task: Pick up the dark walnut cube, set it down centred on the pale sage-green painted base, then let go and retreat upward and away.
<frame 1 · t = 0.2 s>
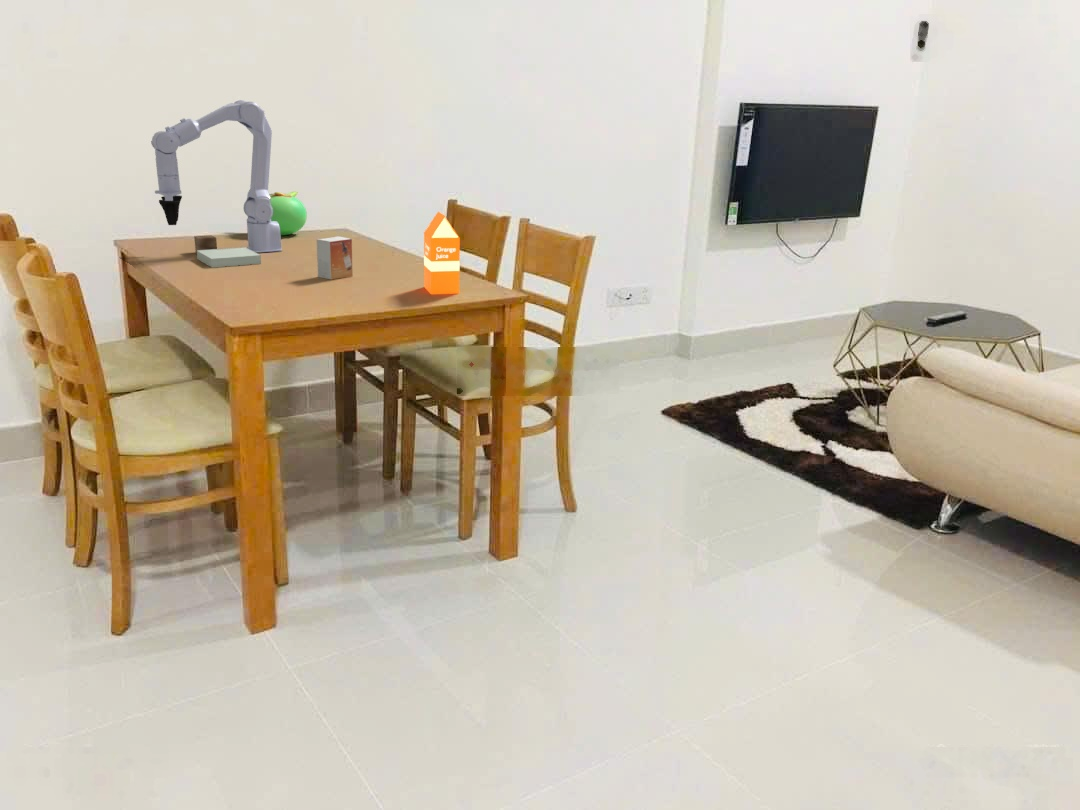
hand: (173, 222, 257), 10 cm above the table, fingers open, 7 cm apart
orange juice: (441, 290, 234), on the table
base: (229, 261, 257), on the table
small box: (335, 277, 244), on the table
walnut cube: (206, 253, 267), on the table
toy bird: (280, 235, 303), on the table
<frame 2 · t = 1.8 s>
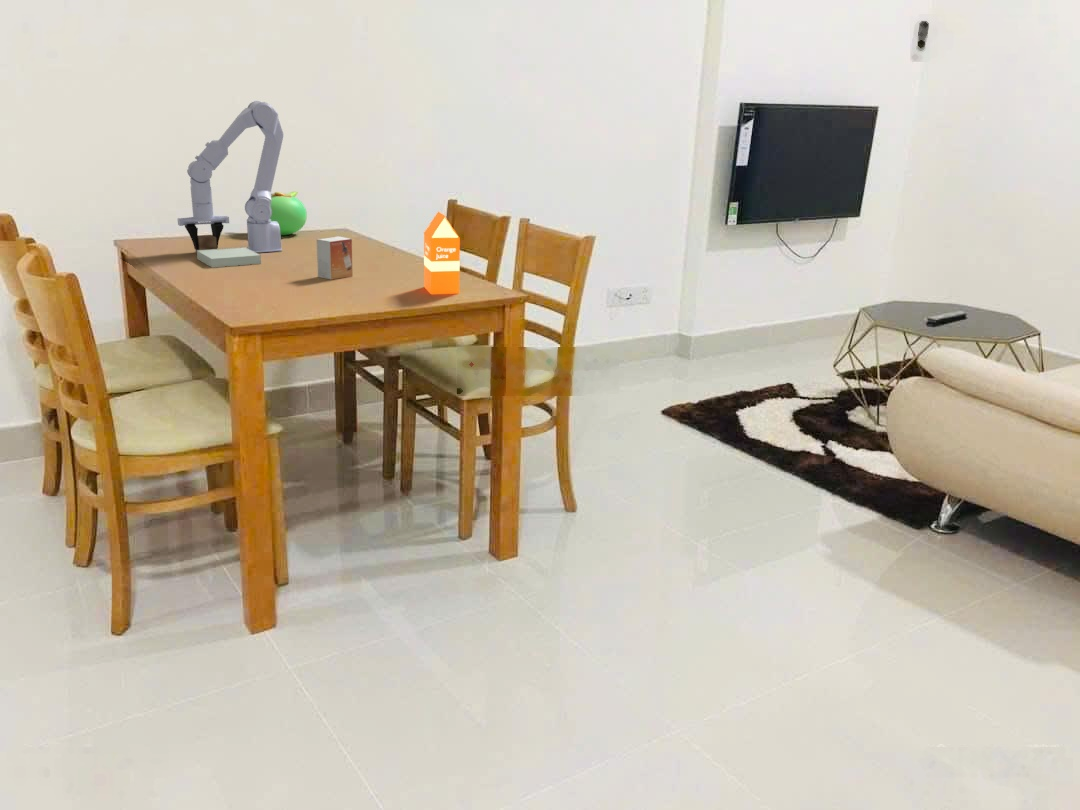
hand: (206, 248, 267), 1 cm above the table, fingers closed on walnut cube, 5 cm apart
walnut cube: (206, 253, 267), on the table, touching gripper
everything else where it was.
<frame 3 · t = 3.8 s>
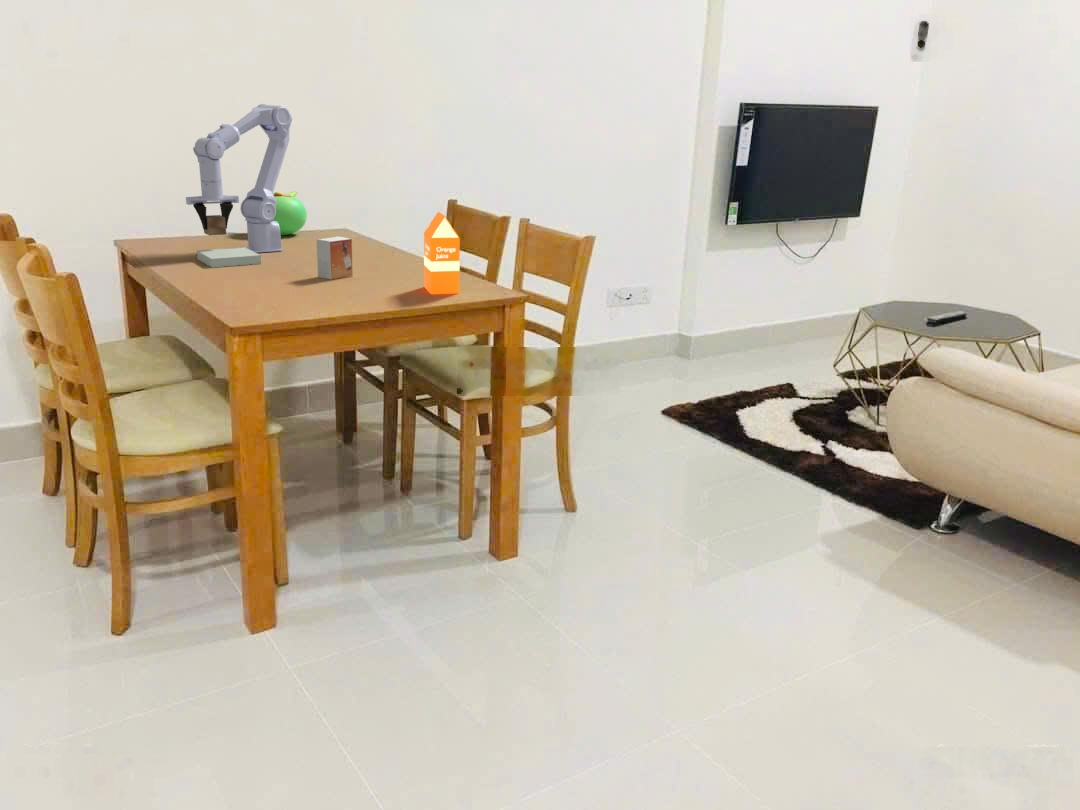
hand: (215, 228, 259), 8 cm above the table, fingers closed on walnut cube, 5 cm apart
walnut cube: (215, 233, 260), point 7 cm above the table, touching gripper
everything else where it was.
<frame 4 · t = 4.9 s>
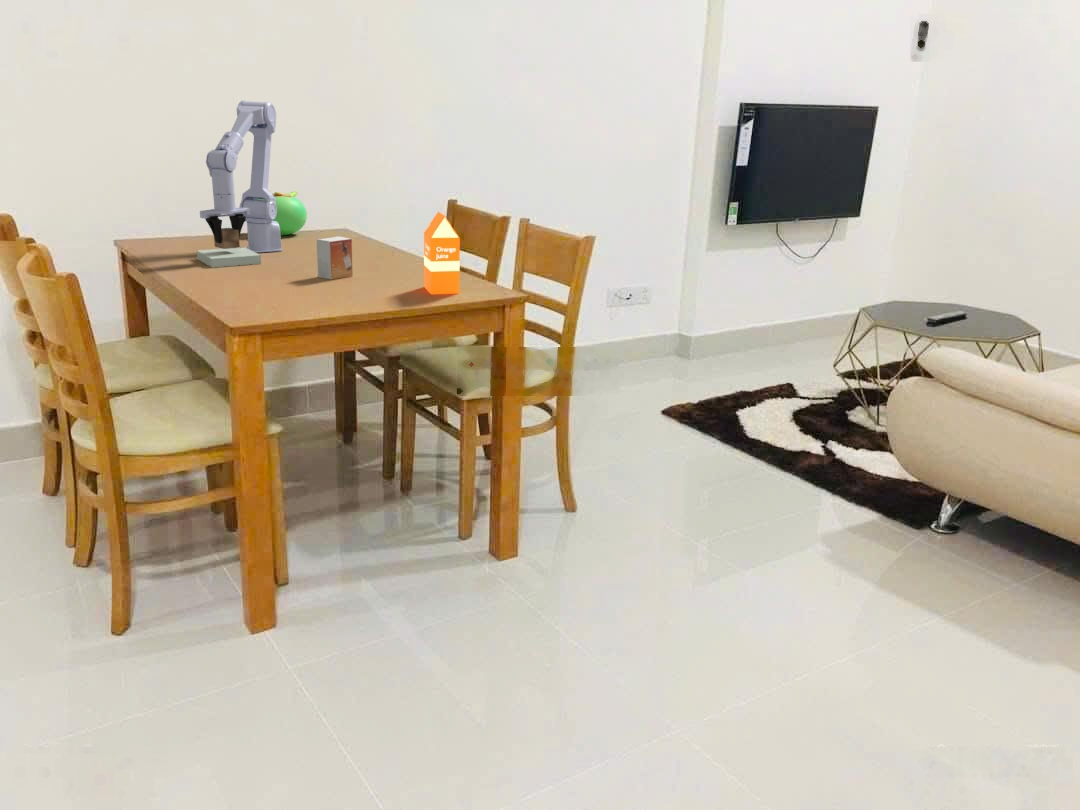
hand: (227, 241, 255), 6 cm above the table, fingers closed on walnut cube, 5 cm apart
walnut cube: (227, 246, 256), point 4 cm above the table, touching gripper
everything else where it was.
when the fingers open (5 cm above the table, at t = 5.6 s): walnut cube stays where it is, resting on base.
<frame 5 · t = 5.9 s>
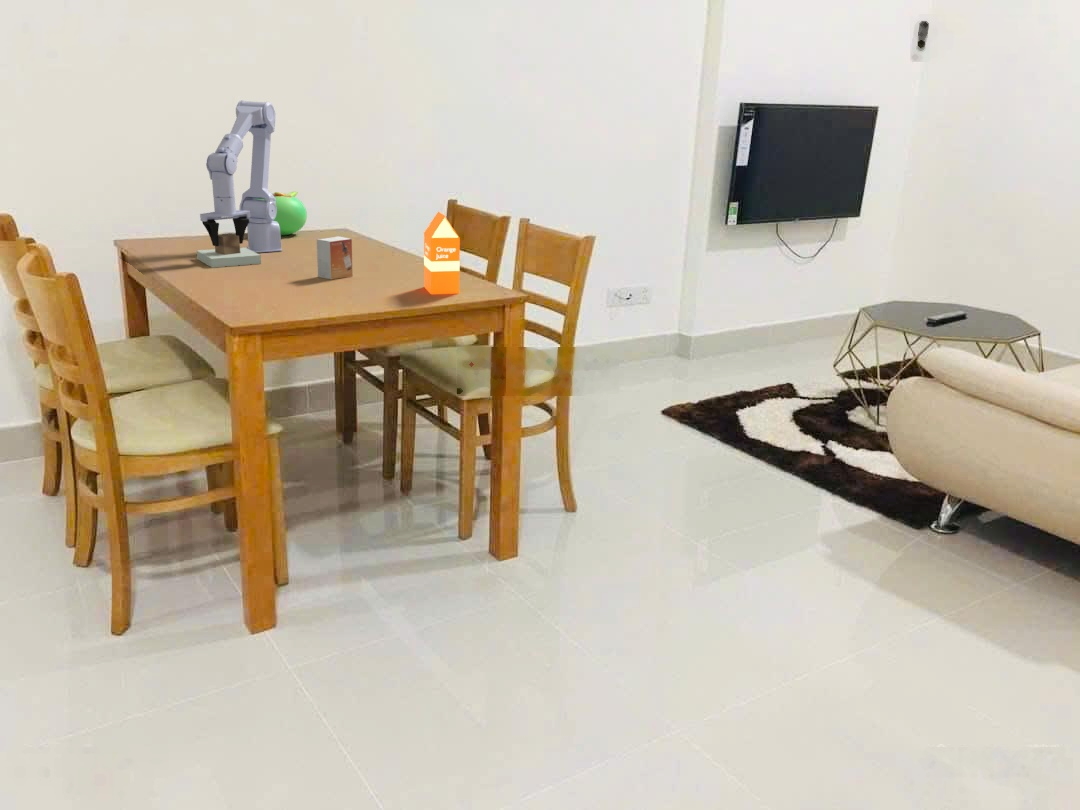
hand: (227, 244, 255), 5 cm above the table, fingers open, 7 cm apart
walnut cube: (227, 252, 256), point 2 cm above the table, touching base
everything else where it was.
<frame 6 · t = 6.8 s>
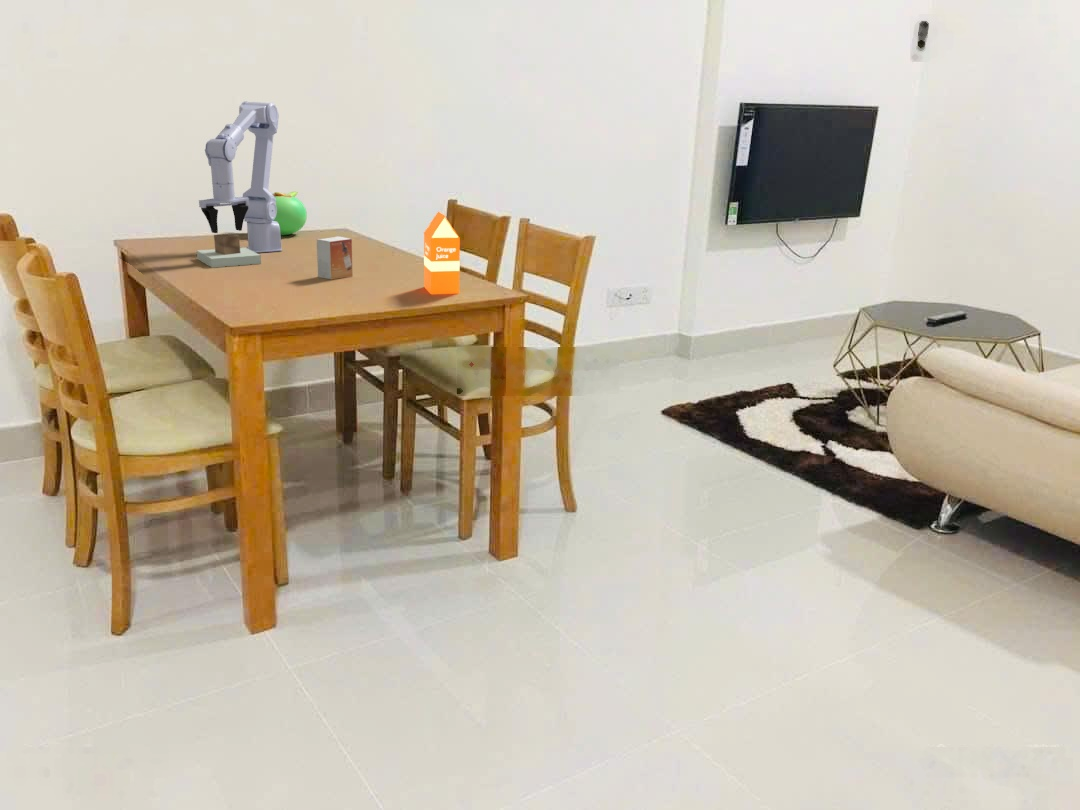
hand: (226, 231, 254), 9 cm above the table, fingers open, 7 cm apart
nothing on the table moved.
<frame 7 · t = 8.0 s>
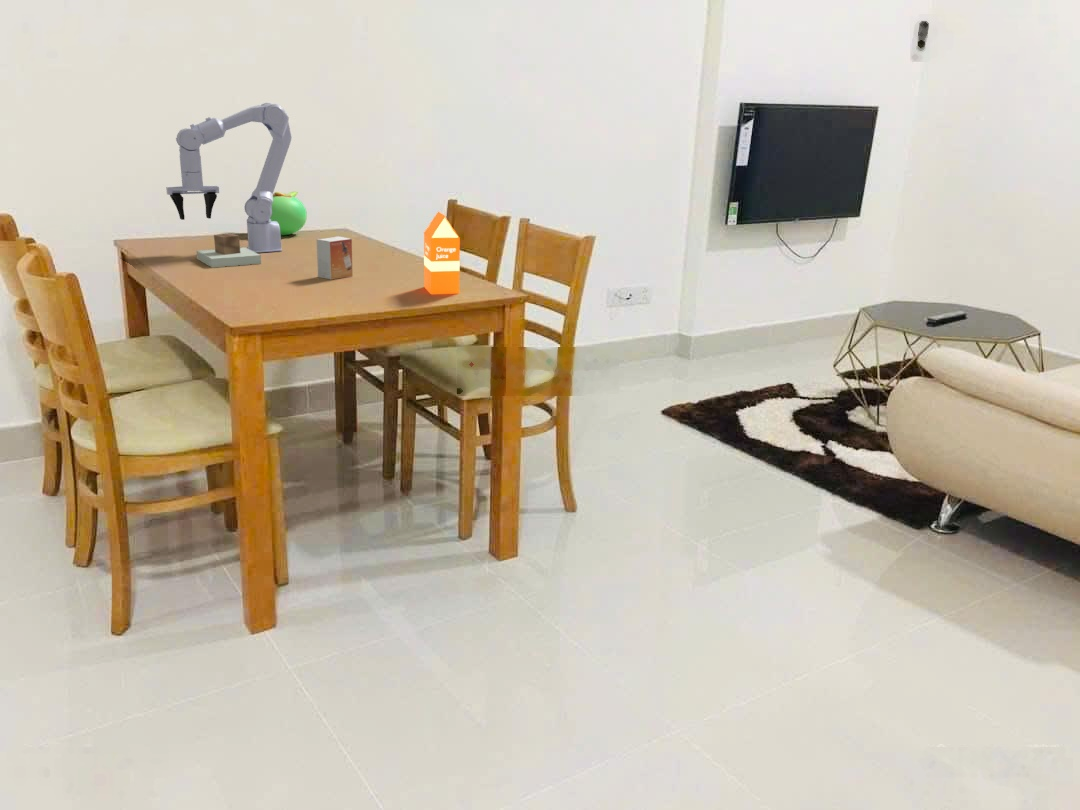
hand: (195, 218, 262), 10 cm above the table, fingers open, 7 cm apart
nothing on the table moved.
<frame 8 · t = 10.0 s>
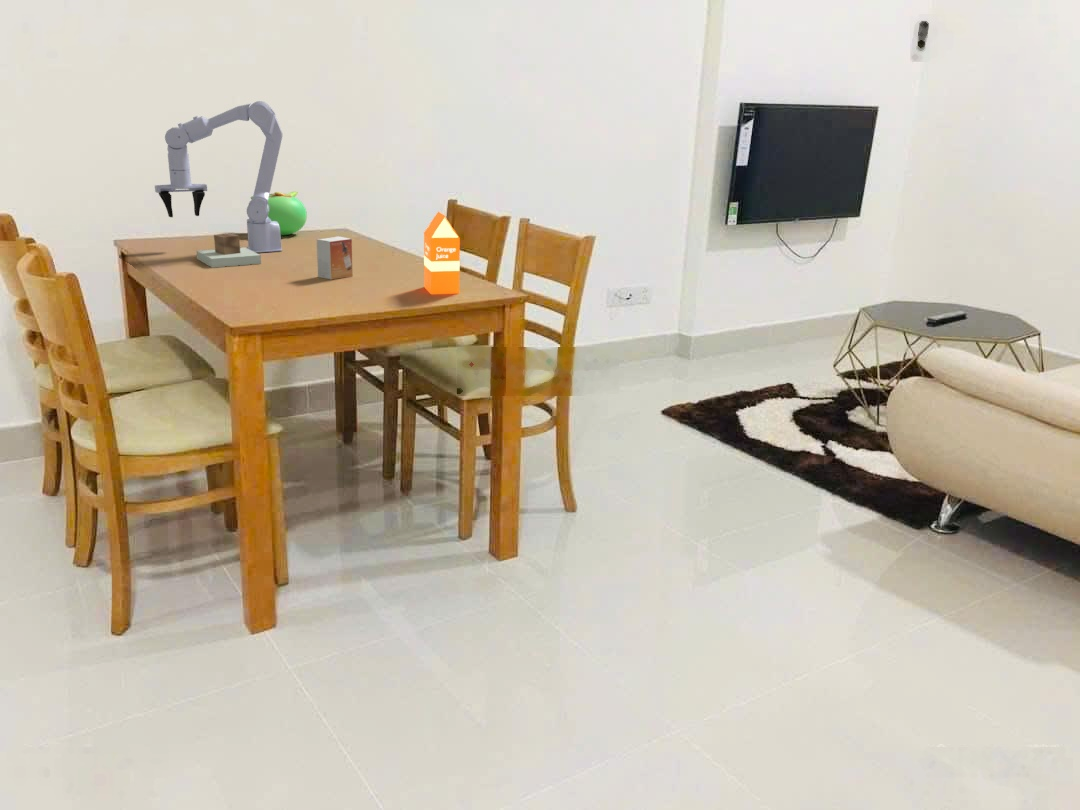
hand: (184, 216, 266), 10 cm above the table, fingers open, 7 cm apart
nothing on the table moved.
at the end: walnut cube inside the target area on the base (0.4 cm from its centre), point 2.5 cm above the base's base; walnut cube tilted 0°; the gripper is holding nothing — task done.
